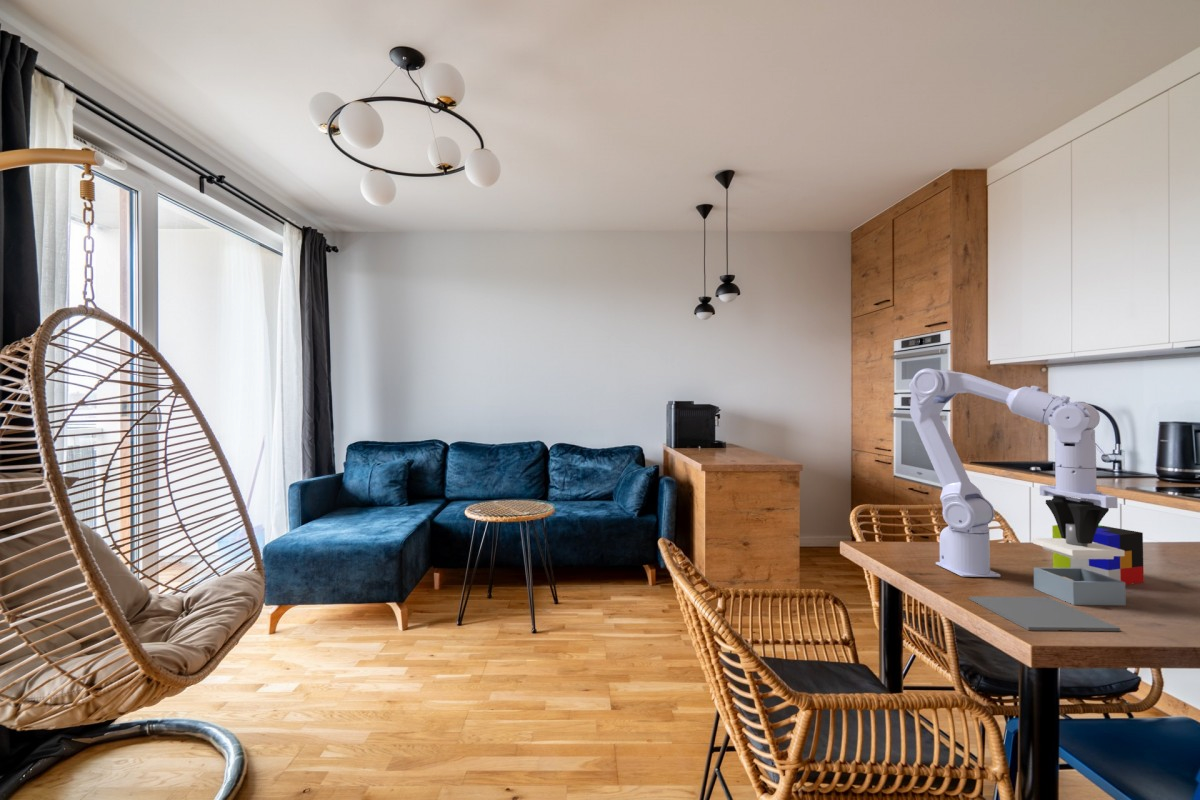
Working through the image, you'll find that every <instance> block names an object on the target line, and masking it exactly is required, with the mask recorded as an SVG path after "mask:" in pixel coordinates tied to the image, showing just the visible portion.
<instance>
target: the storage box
mask: <svg viewBox="0 0 1200 800" xmlns="http://www.w3.org/2000/svg"><path fill="white" fill-rule="evenodd" d="M1033 589H1035V590H1037V591H1038V592H1039V591H1040V592H1042V593H1044V594H1047V595H1048V596H1051V597H1054V598H1056V599H1058V600H1061V601H1063V602H1065V601H1066V603H1067V604H1070V603H1071V604H1070V605H1073V606H1127V604H1126V601H1127V600H1126V599H1127V597H1126V585H1125V582H1122V581H1119V580H1116V579H1113V578H1110V577H1107V576H1104V575H1101V574H1098V573H1095V572H1092V571H1089V570H1086V569H1083V568H1053V567H1033Z"/></svg>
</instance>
